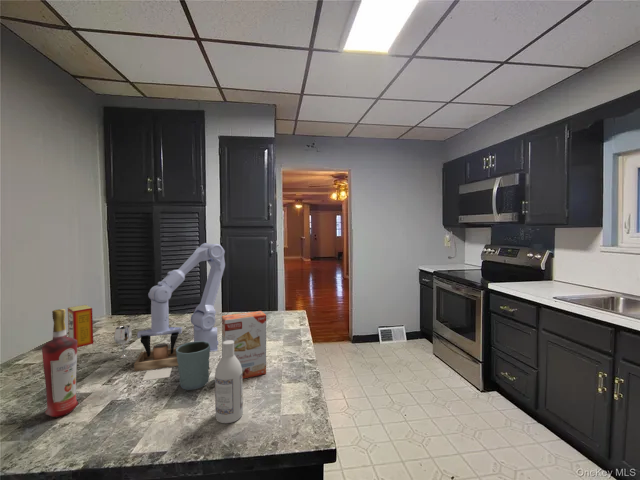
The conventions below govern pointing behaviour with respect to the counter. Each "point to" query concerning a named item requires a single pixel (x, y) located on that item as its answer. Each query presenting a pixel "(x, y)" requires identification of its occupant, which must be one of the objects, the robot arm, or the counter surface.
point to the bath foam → (228, 386)
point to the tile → (157, 374)
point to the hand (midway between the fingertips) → (160, 354)
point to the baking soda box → (80, 324)
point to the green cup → (193, 364)
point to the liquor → (60, 368)
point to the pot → (160, 351)
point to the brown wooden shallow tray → (155, 361)
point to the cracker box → (247, 340)
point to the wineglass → (122, 336)
